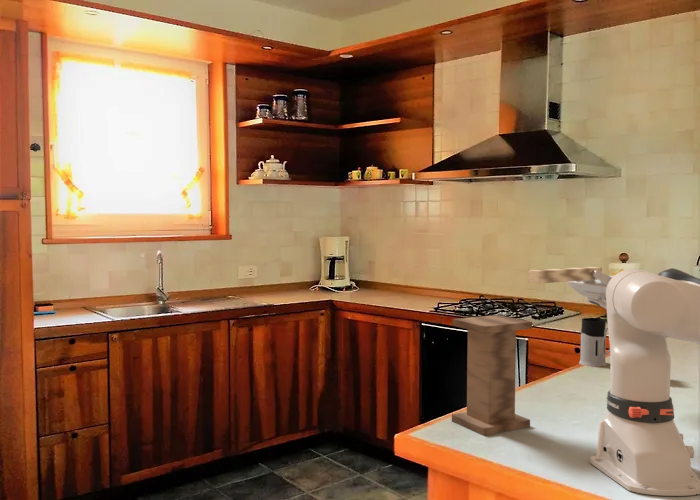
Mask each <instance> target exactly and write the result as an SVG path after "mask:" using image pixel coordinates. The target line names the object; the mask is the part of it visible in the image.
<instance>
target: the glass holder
mask: <svg viewBox="0 0 700 500" xmlns="http://www.w3.org/2000/svg"><path fill="white" fill-rule="evenodd" d="M606 321H607V319H605V318H604V319H603V318H598V317H597V318H596V317H584V318H581V328H580V329H581V330H580V358H579V359H580V360H579V362H578V364H580V365H581V366H584V365H585V366H586V367H590V366H591V367H592V368H594V367H595V368H600V366H603V367H607V363H606V356H607V355H608V354H610V348H609V349H608V351H606V349H607V348H606V346H607V345H606V344H607V339H606V338H607V332H608V326H607V325H606Z"/></svg>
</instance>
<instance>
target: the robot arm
mask: <svg viewBox="0 0 700 500" xmlns="http://www.w3.org/2000/svg"><path fill="white" fill-rule="evenodd" d="M591 276H592V277H593V278H594V279H597V280H583V281H568V282H567V284H568V286H569V287H570V288H572V290H574V291H575V292H576V293H578V294H579V295H581V296H582V297H584V298H585V301H587V303H590V304H593V305H595V306H599V307H601V308H603V309H605V310H606V321H607V327H608V330H607V332H608V341H609V349H610V352H609V354H610V356H609V357H610V363H609V366H610V367H609V369H610V370H609V390H608V392H607V396H606V410H608V411H607V413H606V415H605V416H604V417H603V419H602V420H601V421H600V422H599V425H598V429H599V430H598V437H597V450H596V454H594V455H592V456H590V457H589V463H590V464H591V465H592V466H594V467H595V468H596V469H598V470H599V471H601V472H602V473H604V474H605V475H606V476H608V477H609V478H610V479H611V480H613V481H615V482H616V483H617V484H619V485H621V487H623V488H625V489H626V490H627V491H630V492H634V493H638V494H643V495H652V496H663V497H664V496H669V497H670V496H671V497H676V496H677V497H685V496H686V497H687V496H695V495H696V494H697V495H700V478H699V477H698V476H697V474H696V473H695V471H694V470H693V469H692V467H691V459H693V458H694V457H695V450H694V447H693V446H692V445H686V444H685V442H684V434H683V433H680V431H679V429H678V427H677V426H676V423H675V420H674V419H675V412H674V411H675V407H674V404H673V398H672V397H671V366H672V363H671V362H672V360H671V354H670V351H669V346H668V342H667V338H670V339H671V338H672V339H675V340H679V341H684V342H689V343H694V344H698V345H700V278H698V277H696V276H694V275H691V274H689V273H688V272H685V271H684V270H680V269H676V268H674V267H672V268H668V269H664V270H662V271H660V272H659V273H657V274H656V273H652V272H650V271H646V270H644V269H639V268H629V269H623V270H622V271H619V272H618V273H616V274H614V275H608V274H605V273H603V272H602V273H601V272H599V271H598V270H592V273H591ZM697 495H696V496H697Z"/></svg>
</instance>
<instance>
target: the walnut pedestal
mask: <svg viewBox="0 0 700 500" xmlns="http://www.w3.org/2000/svg"><path fill="white" fill-rule="evenodd" d="M532 325H533V323H532V321H529V320H525V319H521V318H514V317H509V316H504V315H499V314H495V315H494V314H493V315H484V316H471V317H463V318H462V317H461V318H452V327H457V328H462V329H463V330H464V329H466V330H467V356H466V357H467V358H466V359H467V360H466V361H467V365H466V367H467V369H466V411H465V412H460V413H459V412H458V413H453V414H451V422H454V423H455V424H457V425H459V426H462V427H464V428H466V429H468V430H469V431H470V430H471V431H472V432H474V433H477V434H480V435H482V436H489V435H493V434H498V433H503V432H509V431H513V430H518V429H523V428H529V427H531V419H529V418H527V417H525V416H522V415H519V414H517V413H516V365H517V364H516V360H517V355H516V353H517V352H516V351H517V350H516V349H517V348H516V347H517V331H520V330H532V329H533V328H532Z"/></svg>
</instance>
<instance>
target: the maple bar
mask: <svg viewBox="0 0 700 500" xmlns="http://www.w3.org/2000/svg"><path fill="white" fill-rule="evenodd" d="M592 270H598V271H599V272H601V273H603V272H602V270H603V268H602V267H598V266H597V267H596V266H583V267H581V266H579V267H564V268H546V269H545V268H544V269H529V270H528V273H527V279H528V280H527V283H530V284H551V283H554V284H555V283H564V282H567V283H568V281H583V280H597V279H594V278H593V277H592V276H591V273H592Z"/></svg>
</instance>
